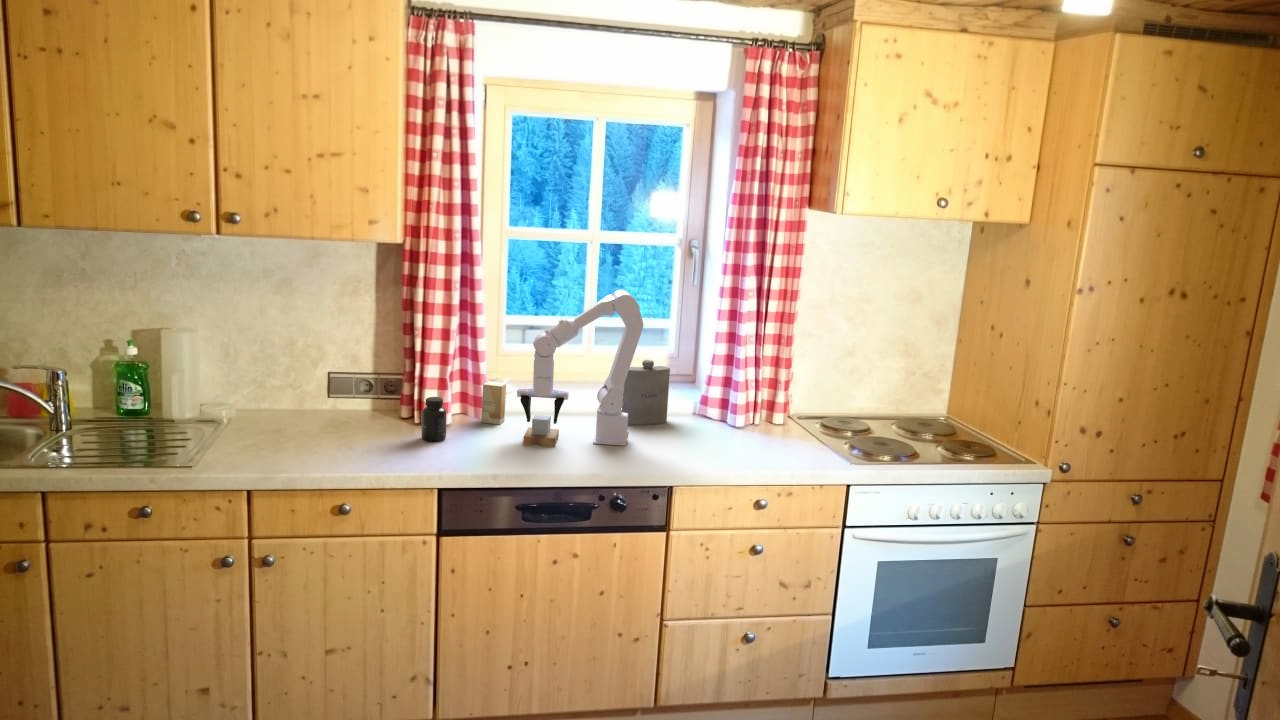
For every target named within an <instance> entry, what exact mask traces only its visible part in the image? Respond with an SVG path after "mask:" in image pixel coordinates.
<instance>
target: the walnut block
mask: <svg viewBox="0 0 1280 720" xmlns="http://www.w3.org/2000/svg"><path fill="white" fill-rule="evenodd" d="M559 433H560V430H559V428H550V432H549V433H548V435H537V434H532V427H527V429H526V430H525V433H524V435H523V444H522V445H523V446H533V445H538V446H537V447H539V446H540V447H550V446H553V448H554V447H556V445H557V443H558V440H559V438H558V437H560V436H559V435H560V434H559Z"/></svg>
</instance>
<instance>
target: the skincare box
mask: <svg viewBox="0 0 1280 720" xmlns="http://www.w3.org/2000/svg"><path fill="white" fill-rule="evenodd" d="M487 381H488V380H487ZM487 381H485V382H486V383H485V382H484V383H483V384H482V397H481V398H482V399H481V400H482V401H481V402H482V403H481V420H480V421H481V423H484V424H485V423H486V424H492V425H493V424H494V425H501V424H503V423H504V422H505V418H506V417H505V415H506V414H505V413H506V398H507V397H506V396H507V383H506V382H498V381H490V380H489V381H488V383H487Z"/></svg>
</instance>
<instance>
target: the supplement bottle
mask: <svg viewBox="0 0 1280 720" xmlns="http://www.w3.org/2000/svg"><path fill="white" fill-rule="evenodd" d="M443 406H444V399H443V398H442V397H441V396H430V397H426V398H425V407H424V408H423V409H422V410H421V440H422V441H423V442H426V443H430V442H431V443H433V444H435V443H436V442H437V443H442V442H444V441H445V440H446V438H447V410H446V408H445V407H443ZM434 442H435V443H434Z"/></svg>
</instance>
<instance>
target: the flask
mask: <svg viewBox="0 0 1280 720" xmlns="http://www.w3.org/2000/svg"><path fill="white" fill-rule="evenodd" d="M654 365H655V362H654V361H653V359H652V360H651V359H644V360H643V361H642V366H630V368H629V371H628V374H627V377H626V380H625V383H624V393H623V396H622V401H623V406H622V408H621V410H622V412H624V413H628V424H629V425H628V426H649V425H648V424H653V425H661V424H660V423H662V424H665V423H667V420H668V419H667V418H668V407H669V392H670V391H669V390H670V376H671V375H670V373H671V372H670V371H671V368H669V367H668V366H665V365H664V366H663V365H655V366H654Z"/></svg>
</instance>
